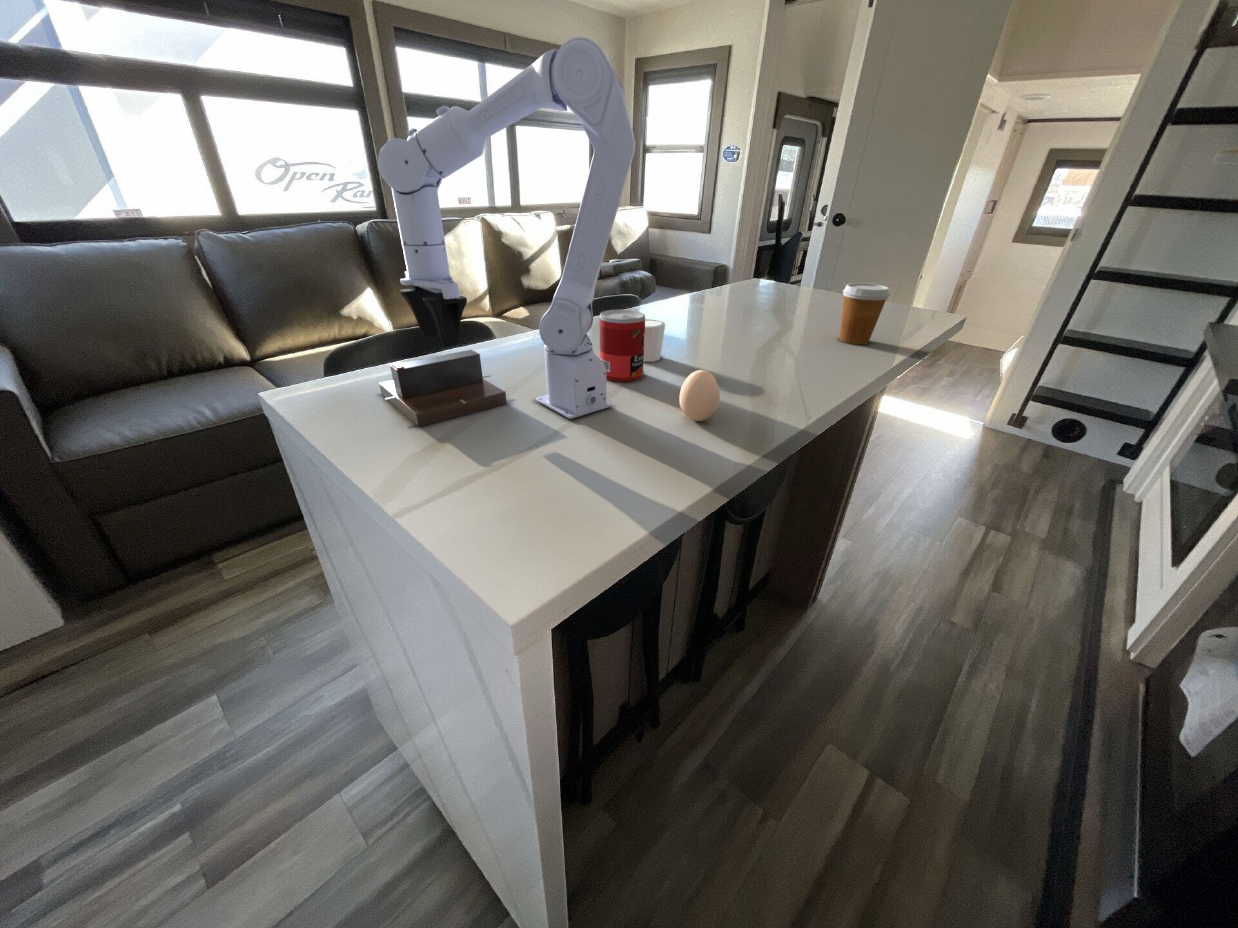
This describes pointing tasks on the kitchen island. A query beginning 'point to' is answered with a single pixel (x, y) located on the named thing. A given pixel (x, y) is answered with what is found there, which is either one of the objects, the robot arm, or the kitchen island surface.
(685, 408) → the egg
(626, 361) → the canned food
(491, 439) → the kitchen island surface
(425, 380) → the gray steel bar
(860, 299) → the disposable coffee cup
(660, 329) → the white cup
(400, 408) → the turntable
